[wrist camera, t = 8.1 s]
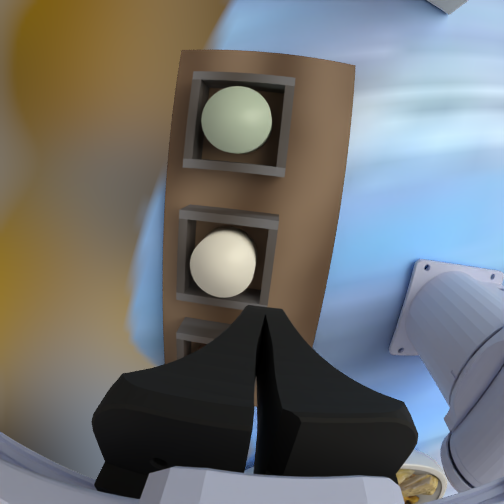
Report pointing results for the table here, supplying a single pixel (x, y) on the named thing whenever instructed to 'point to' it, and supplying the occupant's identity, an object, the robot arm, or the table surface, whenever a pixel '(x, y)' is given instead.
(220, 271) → the cream button
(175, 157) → the panel
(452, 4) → the milk carton
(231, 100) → the sage button
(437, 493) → the bowl
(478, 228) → the table surface
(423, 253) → the table surface
